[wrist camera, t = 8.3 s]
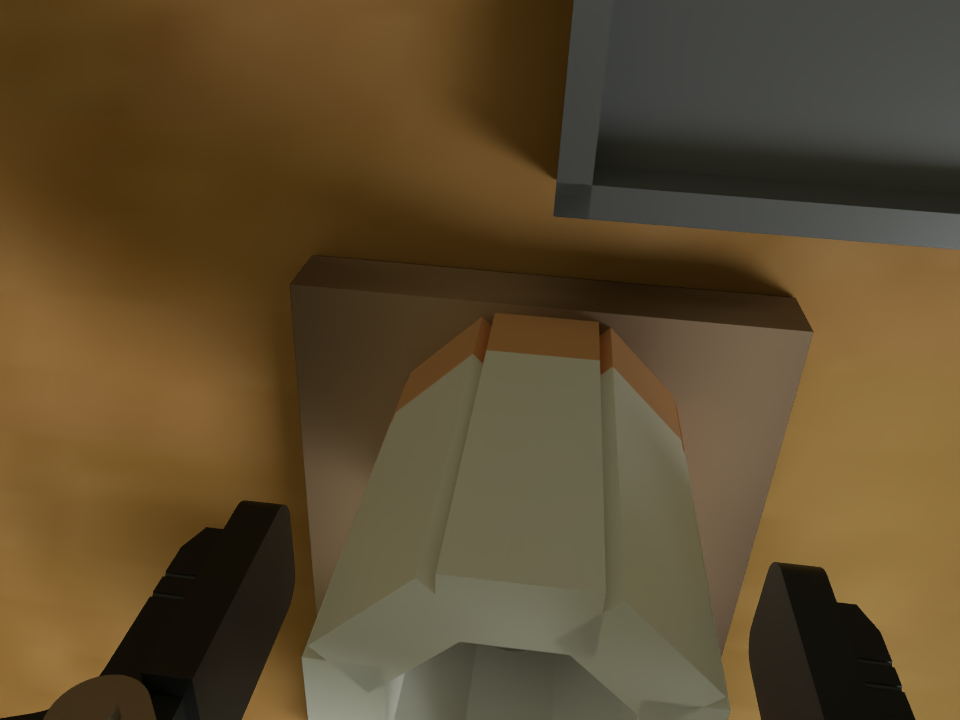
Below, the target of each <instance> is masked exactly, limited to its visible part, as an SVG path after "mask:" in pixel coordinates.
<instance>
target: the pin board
mask: <svg viewBox="0 0 960 720" xmlns="http://www.w3.org/2000/svg"><path fill="white" fill-rule="evenodd" d="M290 294H291V307H292V319H293V332H294V344H295V357H296V369H297V382H298V394H299V407H300V419H301V432H302V444H303V457H304V469H305V482H306V494H307V507H308V519H309V532H310V544H311V557H312V569H313V582H314V594H315V607H316V618H317V615H318V613H319V610H320V607H321V605H322V602H323V600H324V597H325V594H326V592H327V589H328V586H329V584H330V581H331V578H332V576H333V573H334V571H335V568H336V565H337V563H338V560H339V557H340V555H341V552H342V549H343V547H344V544H345V542H346V539H347V536H348V534H349V531H350V528H351V526H352V523H353V520H354V518H355V515H356V513H357V510H358V507H359V505H360V502H361V499H362V497H363V494H364V491H365V489H366V486H367V484H368V481H369V478H370V476H371V473H372V470H373V468H374V465H375V462H376V460H377V457H378V455H379V452H380V449H381V447H382V444H383V441H384V439H385V436H386V433H387V431H388V428H389V426H390V423H391V420H392V418H393V415H394V412H395V410H396V407H397V404H398V402H399V399H400V397H401V394H402V391H403V389H404V386H405V383H406V382H407V381H408V378H409V376H410V373H411V372H412V371H413V370H414V369H416V368H417V367H418V366H419V365H421V364H422V363H423V362H425V361H426V360H427V359H428V358H430V357H431V356H432V355H433V354H435V353H436V352H437V351H439V350H440V349H441V348H442V347H444V346H445V345H446V344H448V343H449V342H450V341H451V340H453V339H454V338H455V337H457V336H458V335H459V334H460V333H462V332H463V331H464V330H465V329H467V328H468V327H469V326H471V325H472V324H473V323H474V322H476V321H477V320H478V319H480V318H481V317H482V316H483V317H484V318H485V320H486V321H487V322H488V323H489V324H490V325H491V326H492V323H493V319H494V314H495V313H503V314H514V315H526V316H537V317H549V318H560V319H572V320H583V321H595V322H599V336H600V335H601V334H602V333H604V332H605V331H607V330H608V329H609V328H612V329H613V330H614V332H615V333H616V334H617V335H618V336H619V337H620V338H621V339H622V340H623V341H624V343H625V344H626V345H627V346H628V347H629V348H630V349H631V350H632V351H633V352H634V354H635V355H636V356H637V357H638V358H639V359H640V360H641V361H642V362H643V363H644V365H645V366H646V367H647V368H648V369H649V370H650V371H651V372H652V373H653V374H654V376H655V377H656V378H657V379H658V380H659V381H660V382H661V383H662V384H663V385H664V387H665V388H666V389H667V390H668V391H669V392H670V393H671V394H672V395H673V396H674V400H675V406H676V407H677V410H678V416H679V422H680V427H681V433H682V439H683V444H684V450H685V456H686V461H687V467H688V473H689V478H690V484H691V490H692V495H693V501H694V507H695V512H696V518H697V524H698V529H699V535H700V540H701V546H702V552H703V557H704V563H705V569H706V574H707V580H708V586H709V591H710V597H711V603H712V608H713V614H714V620H715V625H716V631H717V637H718V642H719V648H720V654H721V656H722V653H723V649H724V646H725V642H726V639H727V635H728V632H729V628H730V624H731V621H732V617H733V614H734V610H735V607H736V603H737V600H738V596H739V593H740V589H741V586H742V582H743V579H744V575H745V572H746V568H747V565H748V561H749V558H750V554H751V551H752V547H753V543H754V540H755V536H756V533H757V529H758V526H759V522H760V519H761V515H762V512H763V508H764V505H765V501H766V498H767V494H768V491H769V487H770V484H771V480H772V477H773V473H774V469H775V466H776V462H777V459H778V455H779V452H780V448H781V445H782V441H783V438H784V434H785V431H786V427H787V424H788V420H789V417H790V413H791V410H792V406H793V403H794V399H795V396H796V392H797V388H798V385H799V381H800V378H801V374H802V371H803V367H804V364H805V360H806V357H807V353H808V350H809V346H810V343H811V339H812V336H813V330H812V328H811V326H810V324H809V323H808V321H807V319H806V317H805V315H804V313H803V311H802V309H801V307H800V305H799V304H798V302H797V300H796V298H791V297H780V296H768V295H757V294H746V293H734V292H723V291H711V290H700V289H689V288H677V287H666V286H655V285H643V284H632V283H621V282H609V281H598V280H587V279H575V278H564V277H553V276H541V275H530V274H518V273H507V272H496V271H484V270H473V269H462V268H450V267H439V266H428V265H416V264H405V263H394V262H382V261H371V260H360V259H348V258H337V257H325V256H314V255H312V256H311V258H310V259H309V260H308V262H307V263H306V264H305V265H304V267H303V268H302V269H301V271H300V272H299V273H298V274H297V276H296V277H295V278H294V280H293V281H292V282H291V283H290ZM494 647H497V648H499V649H503V650H508V651H516V652H519V651H530V650H524V649H515V648H507V647H499V646H494Z"/></svg>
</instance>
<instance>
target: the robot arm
mask: <svg viewBox="0 0 960 720" xmlns="http://www.w3.org/2000/svg"><path fill="white" fill-rule="evenodd" d="M294 583H295V565H294V554H293V544H292V533H291V523H290V513H289V509H288V507H287V506H286V505H281V504H272V503H263V502H254V501H245V500H244V501H241V502H240V503H239V504H238V506H237V507H236V509H235V510H234V512H233V514H232V516H231V517H230V519H229V521H228V522H227V524H226V526H225V528H224V529H217V528H208V527H206V528H205V529H204V530H202V531H201V532H200V533H199V534H197V535H196V536H195V537H194V538H192V539H191V540H190V541H188V542H187V543H186V544H185V545H183V546H182V547H181V548H180V550H179V551H178V553H177V555H176V556H175V558H174V559H173V561H172V563H171V564H170V566H169V567H168V569H167V570H166V575H165V577H162V578H161V580H160V582H159V583H158V585H157V586H156V588H155V589H154V591H153V596H152V597H149V599H148V601H147V602H146V604H145V605H144V607H143V608H142V610H141V612H140V613H139V615H138V616H137V618H136V620H135V621H134V623H133V624H132V626H131V627H130V629H129V631H128V632H127V634H126V635H125V637H124V639H123V640H122V642H121V643H120V645H119V647H118V648H117V650H116V651H115V653H114V654H113V656H112V658H111V659H110V661H109V662H108V664H107V666H106V667H105V669H104V670H103V671H102V673H101V674H100V676H99V677H95V678H92V679H89V680H86V681H84V682H82V683H79V684H78V685H76V686H74V687H73V688H71V689H69V690H68V691H67V692H65V693H64V694H63V695H62V696H60V697H59V698H58V699H57V700H56V701H55V702H54V703H53V705H52V706H51V707H50V708H49V709H48V710H45V711H41V712H36V713H32V714H25V715H19V716H13V717H7V718H0V720H242V717H243V715H244V713H245V710H246V708H247V706H248V703H249V701H250V698H251V696H252V694H253V691H254V689H255V687H256V684H257V682H258V680H259V677H260V675H261V672H262V670H263V668H264V665H265V663H266V661H267V658H268V656H269V654H270V651H271V649H272V647H273V644H274V642H275V639H276V637H277V635H278V632H279V630H280V628H281V625H282V623H283V621H284V618H285V616H286V614H287V611H288V609H289V606H290V603H291V599H292V595H293V590H294ZM749 662H750V668H751V673H752V678H753V683H754V687H755V692H756V697H757V702H758V706H759V711H760V716H761V720H915V717H914V715H913V712H912V710H911V707H910V705H909V702H908V700H907V697H906V695H905V692H902V685H901V682H900V680H899V677H898V675H897V672H896V670H895V668H894V667H892V660H891V657H890V655H889V652H888V650H887V647H886V645H885V642H884V640H883V637H882V635H881V632H880V631H879V630H878V629H877V628H876V627H875V625H874V624H873V623H872V622H871V621H870V620H869V619H868V617H867V616H866V615H865V614H864V613H863V612H862V611H861V609H860V608H859V607H858V606H857V605H855V604H847V603H838V602H837V601H836V599H835V596H834V593H833V590H832V587H831V585H830V582H829V579H828V576H827V574H826V572H825V570H824V569H823V568H821V567H814V566H805V565H797V564H788V563H779V562H773V563H772V564H771V566H770V568H769V570H768V573H767V576H766V580H765V583H764V586H763V589H762V593H761V596H760V599H759V603H758V606H757V609H756V613H755V616H754V619H753V623H752V626H751V630H750V637H749Z"/></svg>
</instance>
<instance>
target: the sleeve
mask: <svg viewBox="0 0 960 720" xmlns="http://www.w3.org/2000/svg"><path fill="white" fill-rule="evenodd" d="M494 646H499V647H507V648H515V649H524V650H530V651H519V652H516V651H508V650H503V649H499V648H497V647H494ZM302 666H303V676H304V685H305V695H306V705H307V714H308V720H728V717H729V714H730V711H731V710H730V705H729V699H728V693H727V688H726V682H725V676H724V671H723V665H722V659H721V654H720V648H719V642H718V637H717V631H716V625H715V620H714V614H713V608H712V603H711V597H710V591H709V586H708V580H707V574H706V569H705V563H704V557H703V552H702V546H701V540H700V535H699V529H698V524H697V518H696V512H695V507H694V501H693V495H692V490H691V484H690V478H689V473H688V467H687V461H686V456H685V450H684V444H683V439H682V433H681V427H680V422H679V416H678V410H677V407H676V406H675V400H674V396H673V395H672V394H671V393H670V392H669V391H668V390H667V389H666V388H665V387H664V385H663V384H662V383H661V382H660V381H659V380H658V379H657V378H656V377H655V376H654V374H653V373H652V372H651V371H650V370H649V369H648V368H647V367H646V366H645V365H644V363H643V362H642V361H641V360H640V359H639V358H638V357H637V356H636V355H635V354H634V352H633V351H632V350H631V349H630V348H629V347H628V346H627V345H626V344H625V343H624V341H623V340H622V339H621V338H620V337H619V336H618V335H617V334H616V333H615V332H614V330H613V329H612V328H609V329H608V330H607V331H605V332H604V333H602V334H601V335H600V336H599V322H595V321H583V320H572V319H560V318H549V317H537V316H526V315H514V314H503V313H495V314H494V319H493V323H492V326H491V325H490V324H489V323H488V322H487V321H486V320H485V318H484V317H483V316H482V317H481V318H480V319H478V320H477V321H476V322H474V323H473V324H472V325H471V326H469V327H468V328H467V329H465V330H464V331H463V332H462V333H460V334H459V335H458V336H457V337H455V338H454V339H453V340H451V341H450V342H449V343H448V344H446V345H445V346H444V347H442V348H441V349H440V350H439V351H437V352H436V353H435V354H433V355H432V356H431V357H430V358H428V359H427V360H426V361H425V362H423V363H422V364H421V365H419V366H418V367H417V368H416V369H414V370H413V371H412V372H411V373H410V376H409V378H408V381H407V382H406V383H405V386H404V389H403V391H402V394H401V397H400V399H399V402H398V404H397V407H396V410H395V412H394V415H393V418H392V420H391V423H390V426H389V428H388V431H387V433H386V436H385V439H384V441H383V444H382V447H381V449H380V452H379V455H378V457H377V460H376V462H375V465H374V468H373V470H372V473H371V476H370V478H369V481H368V484H367V486H366V489H365V491H364V494H363V497H362V499H361V502H360V505H359V507H358V510H357V513H356V515H355V518H354V520H353V523H352V526H351V528H350V531H349V534H348V536H347V539H346V542H345V544H344V547H343V549H342V552H341V555H340V557H339V560H338V563H337V565H336V568H335V571H334V573H333V576H332V578H331V581H330V584H329V586H328V589H327V592H326V594H325V597H324V600H323V602H322V605H321V607H320V610H319V613H318V615H317V618H316V621H315V623H314V626H313V629H312V631H311V634H310V636H309V639H308V642H307V644H306V647H305V650H304V652H303V655H302Z"/></svg>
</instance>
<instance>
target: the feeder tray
mask: <svg viewBox="0 0 960 720" xmlns="http://www.w3.org/2000/svg"><path fill="white" fill-rule="evenodd" d="M553 216H555V217H568V218H580V219H592V220H604V221H616V222H628V223H641V224H653V225H665V226H677V227H689V228H701V229H714V230H726V231H738V232H750V233H762V234H774V235H787V236H799V237H811V238H823V239H835V240H847V241H860V242H872V243H884V244H896V245H908V246H920V247H932V248H945V249H957V250H960V0H574V3H573V14H572V24H571V35H570V46H569V56H568V67H567V77H566V88H565V99H564V109H563V120H562V130H561V141H560V152H559V162H558V173H557V183H556V194H555V205H554V215H553Z"/></svg>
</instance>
